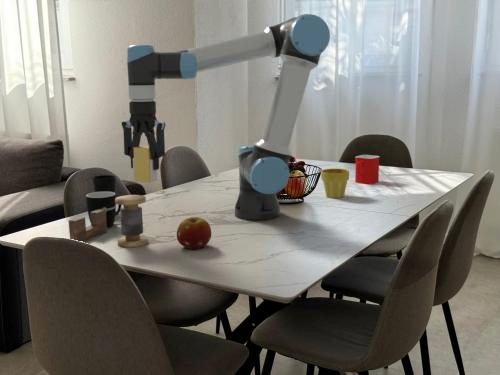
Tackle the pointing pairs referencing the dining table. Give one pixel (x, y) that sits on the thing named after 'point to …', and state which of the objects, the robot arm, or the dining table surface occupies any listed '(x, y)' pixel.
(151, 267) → the dining table surface
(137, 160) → the yellow block
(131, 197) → the bobbin
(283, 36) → the robot arm
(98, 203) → the mug
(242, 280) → the dining table surface
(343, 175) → the plant pot
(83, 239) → the notched board
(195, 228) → the fruit
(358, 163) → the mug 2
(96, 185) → the cup
